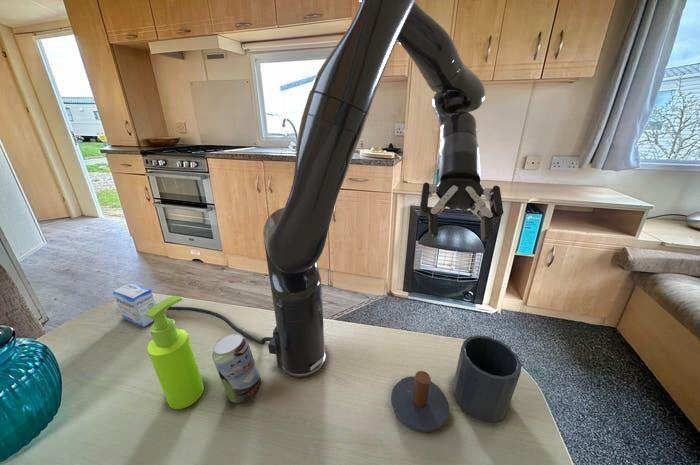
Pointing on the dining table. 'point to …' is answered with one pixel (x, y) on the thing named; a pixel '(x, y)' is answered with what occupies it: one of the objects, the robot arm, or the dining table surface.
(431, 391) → the lid
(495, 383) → the tin
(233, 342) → the beverage can
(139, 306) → the medicine box
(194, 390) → the soap dispenser
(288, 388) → the dining table surface
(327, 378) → the dining table surface
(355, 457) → the dining table surface
